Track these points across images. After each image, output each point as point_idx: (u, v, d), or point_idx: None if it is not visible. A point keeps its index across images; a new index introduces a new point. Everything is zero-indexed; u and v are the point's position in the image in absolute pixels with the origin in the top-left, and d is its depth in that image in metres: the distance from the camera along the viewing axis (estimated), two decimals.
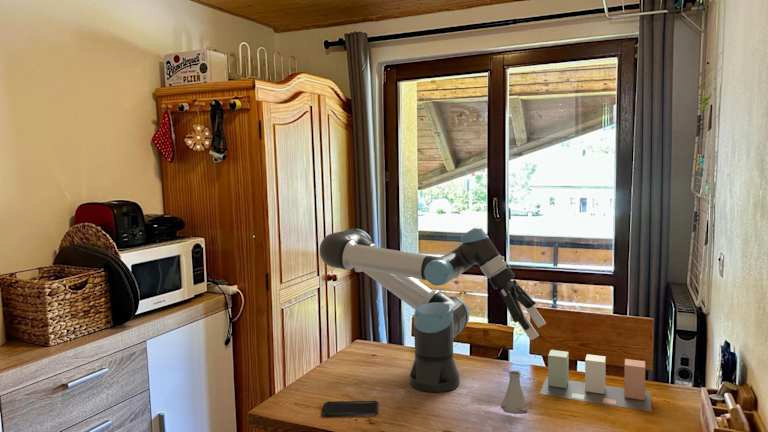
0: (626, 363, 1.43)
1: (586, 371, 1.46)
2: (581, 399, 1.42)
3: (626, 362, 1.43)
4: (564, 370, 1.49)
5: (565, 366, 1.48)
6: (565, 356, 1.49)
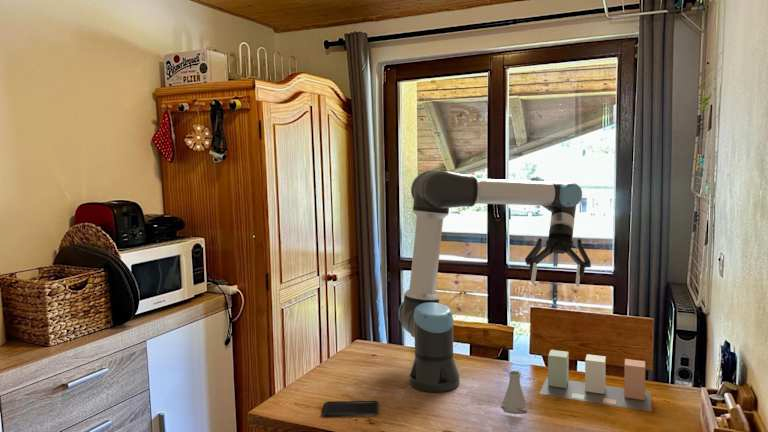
0: (626, 363, 1.43)
1: (586, 371, 1.46)
2: (581, 399, 1.42)
3: (626, 362, 1.43)
4: (564, 370, 1.49)
5: (565, 366, 1.48)
6: (565, 356, 1.49)
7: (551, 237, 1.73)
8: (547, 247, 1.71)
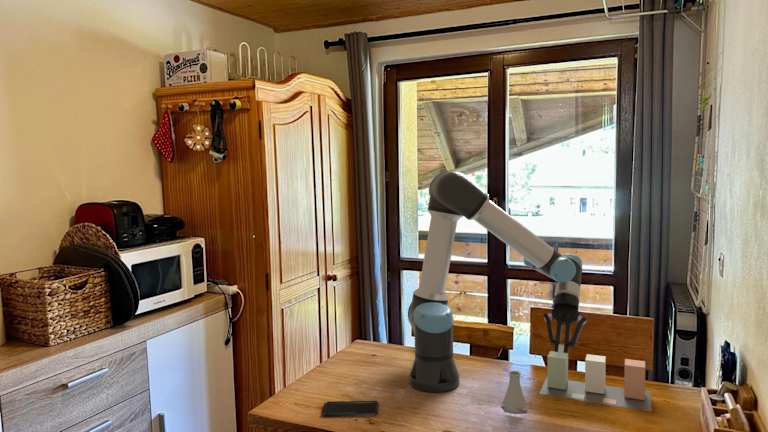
0: (626, 363, 1.43)
1: (586, 371, 1.46)
2: (581, 399, 1.42)
3: (626, 362, 1.43)
4: (563, 371, 1.48)
5: (564, 367, 1.47)
6: (564, 357, 1.48)
7: (556, 307, 1.66)
8: (559, 321, 1.62)
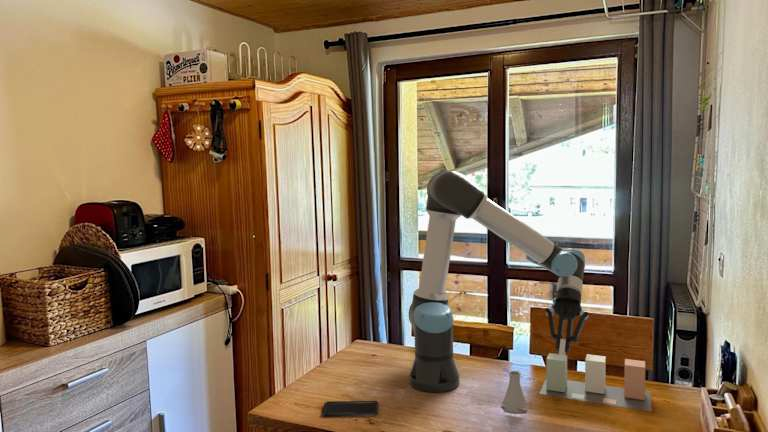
0: (626, 363, 1.43)
1: (586, 371, 1.46)
2: (581, 399, 1.42)
3: (626, 362, 1.43)
4: (563, 374, 1.46)
5: (564, 370, 1.46)
6: (564, 360, 1.46)
7: (558, 301, 1.65)
8: (561, 316, 1.61)
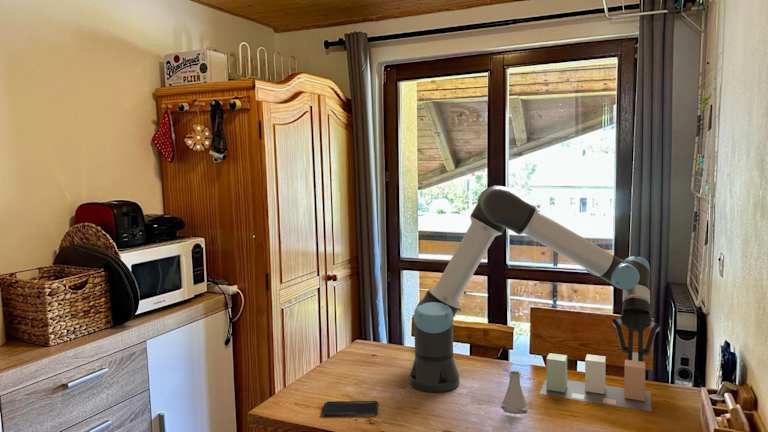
0: (626, 364, 1.42)
1: (586, 371, 1.46)
2: (581, 399, 1.42)
3: (626, 363, 1.43)
4: (563, 374, 1.46)
5: (564, 370, 1.46)
6: (564, 360, 1.46)
7: (626, 312, 1.57)
8: (630, 327, 1.53)
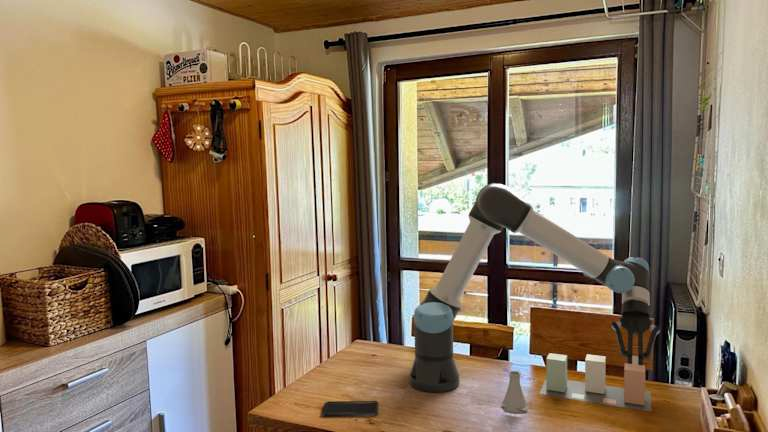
0: (626, 367, 1.39)
1: (586, 371, 1.46)
2: (581, 399, 1.42)
3: (626, 367, 1.40)
4: (563, 374, 1.46)
5: (564, 370, 1.46)
6: (564, 360, 1.46)
7: (625, 315, 1.55)
8: (630, 330, 1.51)
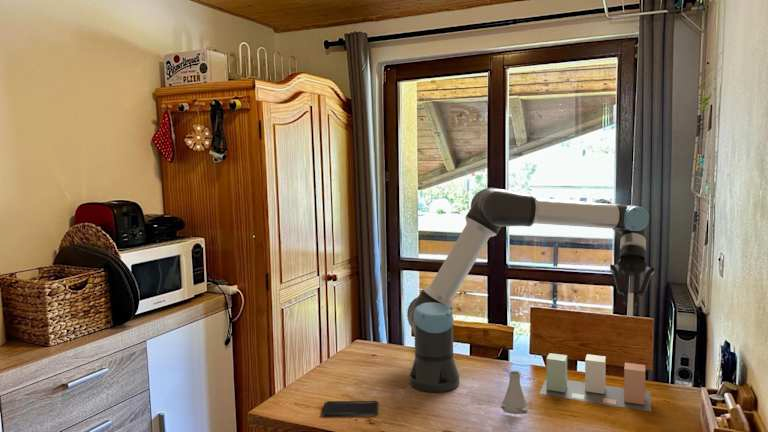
0: (626, 367, 1.40)
1: (586, 371, 1.46)
2: (581, 399, 1.42)
3: (626, 366, 1.40)
4: (563, 374, 1.46)
5: (564, 370, 1.46)
6: (564, 360, 1.46)
7: (623, 258, 1.67)
8: (627, 271, 1.63)
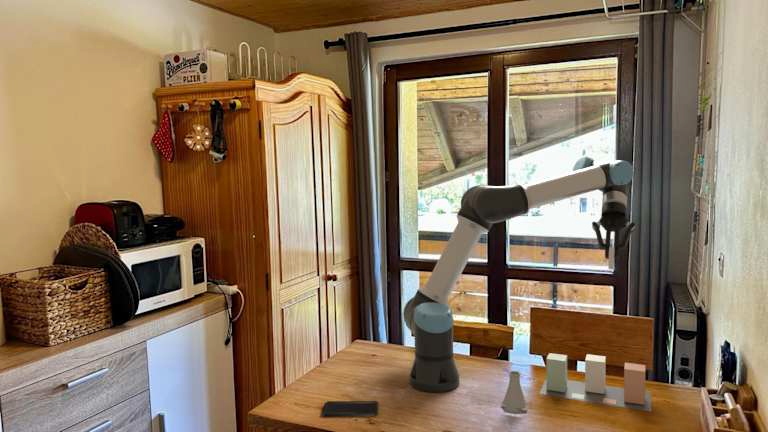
0: (626, 367, 1.40)
1: (586, 371, 1.46)
2: (581, 399, 1.42)
3: (626, 366, 1.40)
4: (563, 374, 1.46)
5: (564, 370, 1.46)
6: (564, 360, 1.46)
7: (604, 215, 1.70)
8: (608, 227, 1.66)
